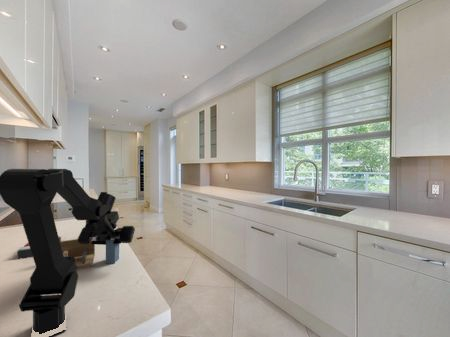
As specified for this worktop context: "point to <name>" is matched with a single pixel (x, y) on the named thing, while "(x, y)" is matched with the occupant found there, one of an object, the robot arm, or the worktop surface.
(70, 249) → the stand
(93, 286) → the worktop surface
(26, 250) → the calculator
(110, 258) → the blue tall block
